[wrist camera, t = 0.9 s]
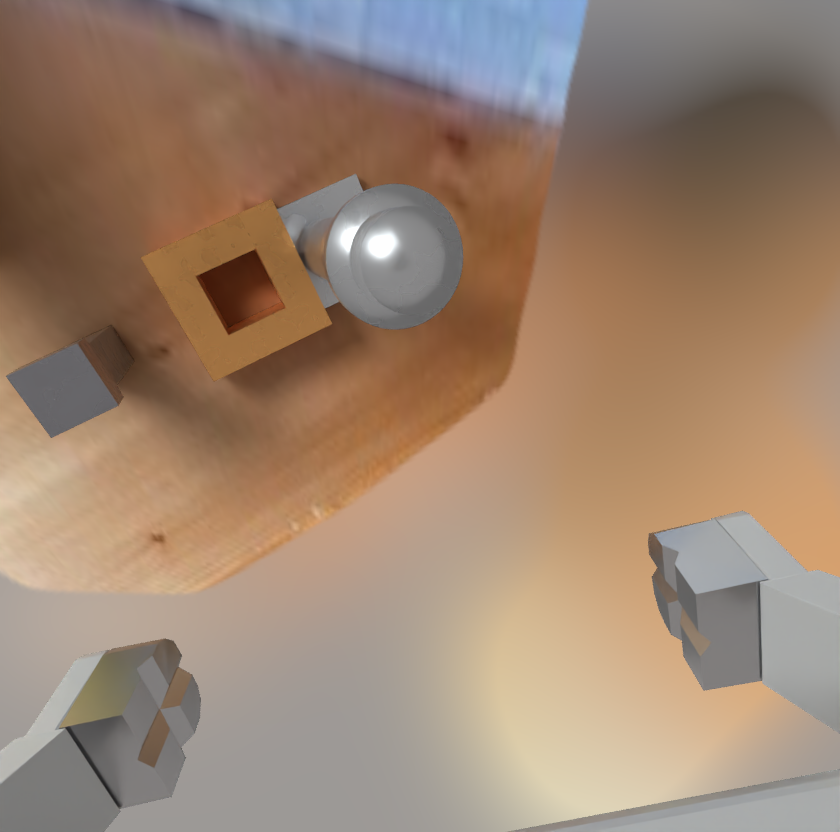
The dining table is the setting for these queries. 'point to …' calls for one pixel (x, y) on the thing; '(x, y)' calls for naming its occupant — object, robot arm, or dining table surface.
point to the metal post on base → (316, 268)
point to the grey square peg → (74, 381)
